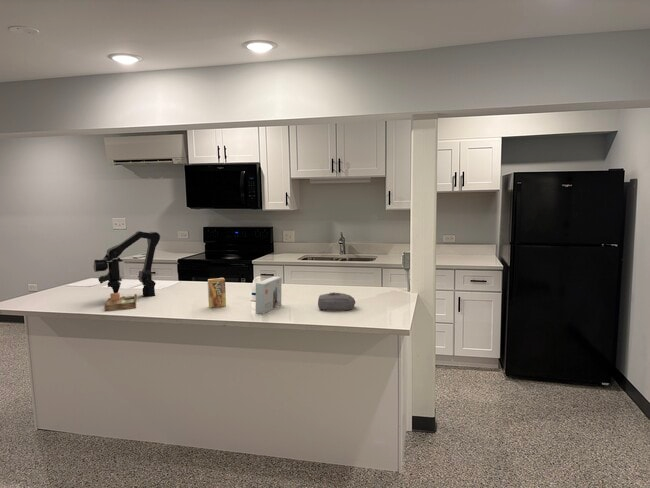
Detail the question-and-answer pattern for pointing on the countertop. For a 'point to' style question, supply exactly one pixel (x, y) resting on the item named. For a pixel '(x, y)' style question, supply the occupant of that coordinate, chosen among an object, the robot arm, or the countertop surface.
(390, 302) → the countertop surface
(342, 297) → the small grey backpack
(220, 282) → the candy box
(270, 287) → the skincare box
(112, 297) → the block
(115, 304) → the trap board
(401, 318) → the countertop surface
